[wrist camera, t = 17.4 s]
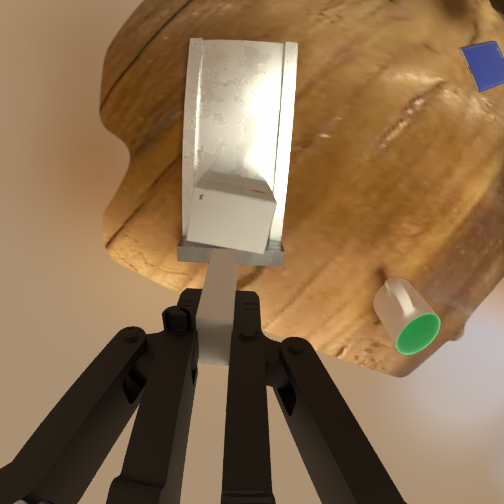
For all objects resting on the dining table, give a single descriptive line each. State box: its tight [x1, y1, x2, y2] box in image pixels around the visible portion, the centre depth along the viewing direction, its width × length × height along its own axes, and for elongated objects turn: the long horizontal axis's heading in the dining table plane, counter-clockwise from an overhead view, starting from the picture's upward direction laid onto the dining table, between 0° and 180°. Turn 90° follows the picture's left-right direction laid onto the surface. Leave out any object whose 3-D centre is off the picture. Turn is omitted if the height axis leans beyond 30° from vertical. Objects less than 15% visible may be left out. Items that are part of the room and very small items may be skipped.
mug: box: [373, 276, 440, 355], centre depth 40 cm, size 12×8×10 cm
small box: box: [187, 171, 277, 254], centre depth 31 cm, size 8×6×10 cm
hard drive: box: [459, 41, 504, 93], centre depth 27 cm, size 2×8×12 cm
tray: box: [177, 38, 298, 266], centre depth 32 cm, size 28×13×6 cm, turn 176°
